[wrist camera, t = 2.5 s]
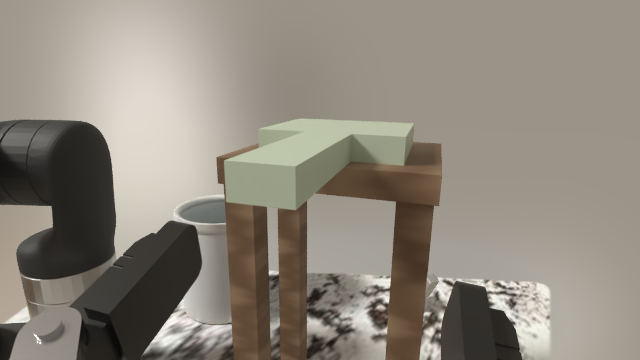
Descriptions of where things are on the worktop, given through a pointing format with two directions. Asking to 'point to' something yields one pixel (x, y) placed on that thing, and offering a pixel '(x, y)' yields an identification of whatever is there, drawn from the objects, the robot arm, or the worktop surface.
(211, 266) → the utensil holder
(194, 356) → the worktop surface
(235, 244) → the stool
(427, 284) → the lighter
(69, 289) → the robot arm
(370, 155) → the green block
